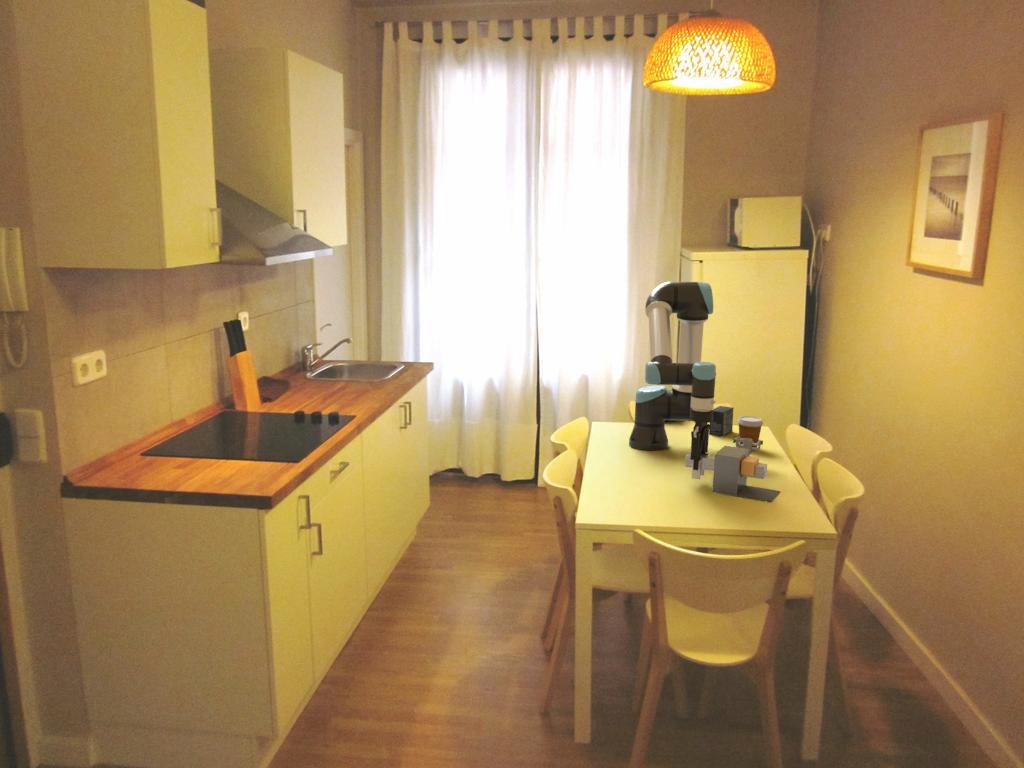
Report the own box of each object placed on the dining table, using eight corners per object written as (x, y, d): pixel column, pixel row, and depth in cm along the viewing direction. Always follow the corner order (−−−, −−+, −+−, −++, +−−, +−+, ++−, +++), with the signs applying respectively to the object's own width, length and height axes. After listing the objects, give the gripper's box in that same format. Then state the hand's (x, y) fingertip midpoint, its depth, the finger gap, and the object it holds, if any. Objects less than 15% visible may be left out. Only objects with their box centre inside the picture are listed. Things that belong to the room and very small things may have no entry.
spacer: (740, 473, 274) (741, 460, 274) (746, 468, 280) (747, 455, 280) (753, 475, 273) (754, 462, 272) (758, 470, 279) (759, 457, 278)
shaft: (685, 466, 285) (685, 455, 284) (688, 463, 288) (689, 452, 288) (763, 479, 273) (764, 467, 272) (766, 475, 276) (767, 464, 275)
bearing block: (712, 492, 278) (714, 454, 275) (722, 482, 288) (724, 445, 285) (736, 496, 274) (739, 457, 271) (746, 486, 284) (748, 449, 281)
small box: (718, 429, 359) (719, 405, 357) (732, 431, 355) (734, 407, 353) (708, 434, 350) (709, 409, 348) (723, 437, 346) (724, 412, 344)
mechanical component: (761, 467, 305) (763, 440, 303) (731, 465, 307) (733, 439, 305) (760, 465, 308) (762, 438, 306) (731, 463, 310) (733, 437, 308)
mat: (733, 496, 274) (733, 494, 274) (743, 485, 285) (743, 484, 284) (771, 502, 269) (771, 501, 268) (779, 492, 279) (779, 490, 279)
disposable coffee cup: (734, 450, 327) (736, 420, 324) (737, 444, 336) (739, 414, 333) (759, 453, 323) (761, 422, 321) (762, 447, 332) (764, 417, 330)
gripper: (705, 415, 272) (701, 485, 276) (720, 405, 286) (716, 471, 291) (682, 412, 275) (679, 481, 280) (698, 402, 290) (694, 468, 295)
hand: (698, 476), depth 285 cm, fingers closed on shaft, 4 cm apart
